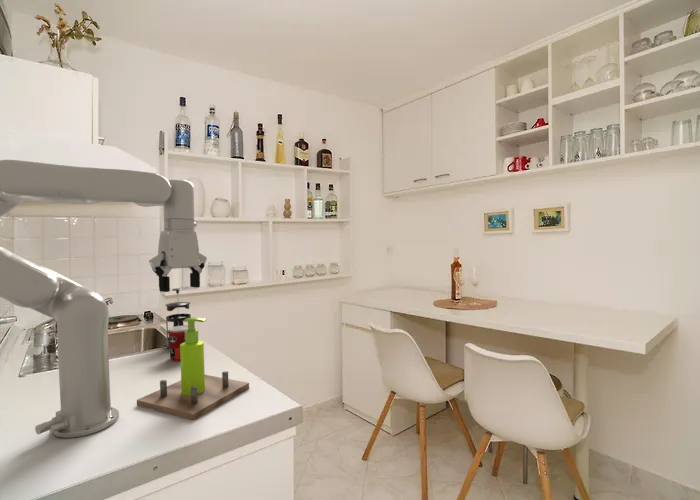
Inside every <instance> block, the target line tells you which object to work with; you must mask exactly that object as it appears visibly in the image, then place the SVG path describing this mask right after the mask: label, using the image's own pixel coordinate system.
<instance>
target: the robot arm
mask: <svg viewBox="0 0 700 500" xmlns="http://www.w3.org/2000/svg"><path fill="white" fill-rule="evenodd" d="M194 187H195V186H194V184H193V183H192V182H191V181H188V180H184V179H167V178H166V177H164V176H163V175H161V174H158V173H155V172H146V171H139V170H131V169H130V170H129V169H120V168H119V169H117V168H115V169H114V168H99V167H90V166H89V167H85V166H84V167H83V166H82V167H81V166H74V165H63V164H62V165H61V164H56V163H55V164H53V163H45V162H44V163H43V162H38V161H37V162H35V161H27V160H18V159H17V160H16V159H1V160H0V218H2V217H3V216H5V215H6V214H8V213H9V212H11V211H12V210H14V209H15V208H17V207H18V206H19V205H21V204H22V203H23V202H32V203H51V204H69V205H95V204H101V203H103V204H104V203H134V204H135V205H137V206H139V207H146V208H149V207H150V208H151V207H163V231H160V235H159V239H158V240H159V241H158V247H157V255H156V256H153V257H152V258H150V259H149V260H148V262H149V265H150V267H151V269H152V271H153V272H154V273H155V274H156V276H157V277H158V288H159V292H162V293H163V292H164V293H169V292H170V290H171V289H170V288H171V287H170V282H171V281H170V279H171V278H170V276H168V275H169V273H170V272H171V270H172V269H175V270H176V269H187V268H188V269H189V270H190V271H191V272H190V274H189V283H190V284H189V285H190V287H191V288H200V287H201V279H200V277H201V276H200V275H201V273H202V271H203V269H204V268H205V266H206V265H205V264H206V262H207V260H208V259H207V256H205V255H204V254H202V253H200V249H199V247H200V246H199V240H198V235H197V231H195V228H197V222H195V188H194ZM0 298H2V299H3V300H6V301H7V302H9V303H10V304H13V305H14V306H17V307H20V308H26V309H30V310H33V311H36V312H38V313H40V314H43V315H45V316H47V317H49V318H51V319H53V320H56V326H57V327H56V329H57V330H56V331H57V337H56V338H57V342H56V343H57V363H58V379H59V382H58V383H59V396H60V397H59V398H60V400H59V402H60V410H58V411H57V410H56V411H55V416H54V417H52V418H51V419H50V420H49V421H44V422H42V423H40V424H37V425H35V428H34V430H35V433H36V435H41V434H42V433H45V432H48V431H49V433H51V434H53V435H55V436H56V437H58V438H66V439H67V438H78V437H83V436H88V435H91V434H95V433H97V432H100V431H103V430H104V429H106V428H108V427H110V426H112V425H113V424H114V423H116V421H117V420H118V419H119V416H120V412H119V409H117V408H115V407H112V405H111V404H112V403H111V385H110V384H111V382H110V361H109V336H108V335H109V318H110V315H109V307H108V304H107V302H106V299H104V297H103V296H102V295H100V294H99V293H98V292H95V291H93V290H92V289H89V288H87V287H85V286H83V285H81V284H79V283H77V282H75V281H74V280H71V279H70V278H68V277H66V276H64V275H61V274H59V272H56V271H54V270H52V269H50V268H48V267H46V266H45V265H42V264H39V263H35V262H32V261H30V260H28V259H26V258H23V257H22V256H19V255H18V254H16V253H14V252H12V251H10V250H9V249H8V248H5V247H3V246H1V245H0Z"/></svg>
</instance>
